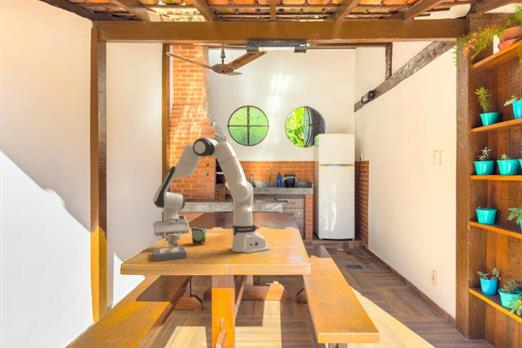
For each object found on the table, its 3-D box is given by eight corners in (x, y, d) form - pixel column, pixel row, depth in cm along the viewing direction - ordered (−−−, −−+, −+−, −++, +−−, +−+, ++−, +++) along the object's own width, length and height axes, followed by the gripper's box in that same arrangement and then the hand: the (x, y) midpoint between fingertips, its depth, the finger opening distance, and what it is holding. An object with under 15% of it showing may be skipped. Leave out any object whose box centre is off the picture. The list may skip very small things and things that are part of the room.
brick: (177, 248, 202) (176, 233, 201) (177, 250, 197) (177, 234, 197) (168, 249, 200) (167, 233, 200) (168, 251, 195) (168, 235, 195)
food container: (211, 243, 212) (210, 227, 212) (203, 245, 207) (202, 229, 207) (199, 241, 220) (198, 225, 220) (191, 242, 216) (190, 227, 215)
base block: (182, 251, 194) (182, 245, 194) (186, 257, 179) (186, 251, 179) (153, 253, 189) (153, 248, 189) (154, 261, 174) (154, 255, 174)
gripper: (153, 218, 201) (154, 238, 192) (188, 216, 208) (190, 235, 199) (153, 224, 205) (154, 244, 196) (187, 222, 212) (190, 241, 203)
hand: (172, 239), depth 198 cm, fingers closed on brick, 5 cm apart
